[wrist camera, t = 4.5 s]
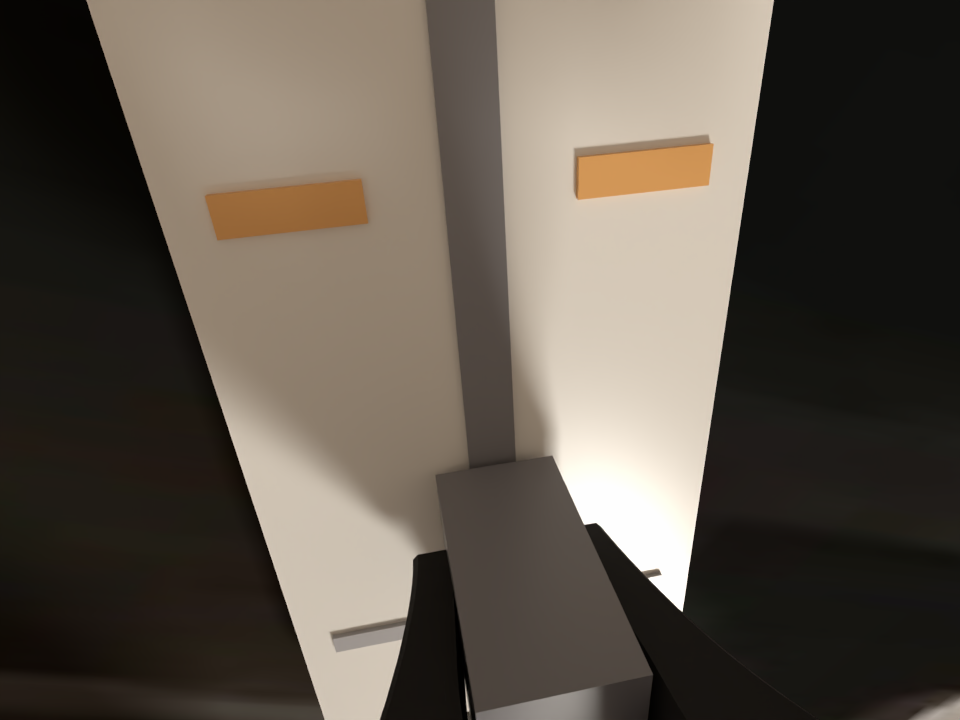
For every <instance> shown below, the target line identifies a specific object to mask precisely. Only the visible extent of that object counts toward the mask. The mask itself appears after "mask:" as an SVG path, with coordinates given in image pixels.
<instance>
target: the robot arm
mask: <svg viewBox="0 0 960 720" xmlns="http://www.w3.org/2000/svg"><path fill="white" fill-rule="evenodd" d="M585 528H586V530H587V532H588V534H589V536H590V538H591V541H592V543H593V545H594V547H595V549H596V552H597V554H598V556H599V558H600V560H601V562H602V565H603V567H604V569H605V571H606V573H607V575H608V578H609V580H610V582H611V584H612V586H613V589H614V591H615V593H616V595H617V597H618V599H619V602H620V604H621V606H622V608H623V610H624V612H625V615H626V617H627V619H628V621H629V623H630V626H631V628H632V630H633V632H634V634H635V636H636V639H637V641H638V643H639V645H640V647H641V649H642V652H643V654H644V656H645V658H646V660H647V662H648V665H649V667H650V669H651V671H652V673H653V680H652V688H651V696H650V704H649V712H648V720H819V719H817V718H816V717H814V716H813V715H812V714H810V713H809V712H807V711H806V710H804V709H803V708H801V707H800V706H798V705H797V704H795V703H794V702H792V701H791V700H789V699H788V698H786V697H785V696H784V695H782V694H781V693H780V692H778V691H777V690H776V689H774V688H773V687H772V686H770V685H769V684H768V683H766V682H765V681H764V680H762V679H761V678H760V677H758V676H757V675H756V674H754V673H753V672H752V671H751V670H749V669H748V668H747V667H745V666H744V665H743V664H742V663H740V662H739V661H738V660H737V659H735V658H734V657H733V656H732V655H730V654H729V653H728V652H727V651H726V650H724V649H723V648H722V647H721V646H720V645H719V644H717V643H716V642H715V641H714V640H713V639H711V638H710V637H709V636H708V635H707V634H706V633H705V632H704V631H702V630H701V629H700V628H699V627H698V626H697V625H696V624H695V623H694V622H692V621H691V620H690V619H689V618H688V617H687V616H686V615H685V614H684V613H683V612H682V611H681V610H679V609H678V608H677V607H676V606H675V605H674V604H673V603H672V602H671V601H670V600H669V599H668V598H667V597H666V596H665V595H664V594H663V593H662V592H661V591H660V590H659V589H658V588H657V587H656V586H655V585H654V584H653V583H652V582H651V581H650V580H649V579H648V578H647V577H646V576H645V575H644V574H643V573H642V572H641V571H640V570H639V568H638V567H637V566H636V565H635V564H634V563H633V562H632V561H631V560H630V559H629V558H628V557H627V556H626V554H625V553H624V552H623V551H622V550H621V549H620V548H619V547H618V546H617V544H616V543H615V542H614V541H613V540H612V539H611V538H610V536H609V535H608V534H607V533H606V532H605V531H604V529H603V528H602V527H601V526H600V525H598V524H597V523H591V524H586V525H585ZM380 720H468V719H467V705H466V691H465V677H464V669H463V661H462V653H461V645H460V637H459V629H458V622H457V614H456V606H455V598H454V590H453V584H452V578H451V573H450V567H449V561H448V556H447V550H441V551H435V552H430V553H424V554H418V555H417V556H416V557H415V558H414V559H413V577H412V588H411V596H410V602H409V608H408V614H407V620H406V624H405V629H404V633H403V638H402V643H401V647H400V652H399V656H398V660H397V663H396V667H395V670H394V674H393V677H392V681H391V685H390V688H389V692H388V695H387V699H386V702H385V705H384V708H383V711H382V715H381V718H380Z"/></svg>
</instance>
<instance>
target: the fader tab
mask: <svg viewBox="0 0 960 720" xmlns="http://www.w3.org/2000/svg"><path fill="white" fill-rule="evenodd" d="M435 477H436V485H437V493H438V500H439V508H440V516H441V523H442V531H443V538H444V546H445V550H447V556H448V561H449V567H450V573H451V578H452V584H453V590H454V598H455V606H456V614H457V622H458V629H459V637H460V645H461V653H462V661H463V669H464V677H465V688H466V694H467V700H468V707H469V713H470V719H471V720H648V712H649V704H650V696H651V688H652V680H653V673H652V671H651V669H650V667H649V665H648V662H647V660H646V658H645V656H644V654H643V652H642V649H641V647H640V645H639V643H638V641H637V639H636V636H635V634H634V632H633V630H632V628H631V626H630V623H629V621H628V619H627V617H626V615H625V612H624V610H623V608H622V606H621V604H620V602H619V599H618V597H617V595H616V593H615V591H614V589H613V586H612V584H611V582H610V580H609V578H608V575H607V573H606V571H605V569H604V567H603V565H602V562H601V560H600V558H599V556H598V554H597V552H596V549H595V547H594V545H593V543H592V541H591V538H590V536H589V534H588V532H587V530H586V528H585V525H584V523H583V521H582V519H581V517H580V515H579V512H578V510H577V508H576V506H575V504H574V502H573V499H572V497H571V495H570V493H569V491H568V488H567V486H566V484H565V482H564V480H563V478H562V475H561V473H560V471H559V469H558V467H557V465H556V462H555V460H554V458H553V456H546V457H540V458H534V459H528V460H522V461H516V462H510V463H504V464H498V465H492V466H485V467H479V468H473V469H467V470H461V471H455V472H449V473H443V474H437V475H435Z"/></svg>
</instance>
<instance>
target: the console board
mask: <svg viewBox="0 0 960 720" xmlns="http://www.w3.org/2000/svg"><path fill="white" fill-rule="evenodd" d="M86 1H87V4H88V7H89V10H90V13H91V16H92V19H93V22H94V25H95V28H96V31H97V34H98V37H99V40H100V43H101V46H102V49H103V52H104V55H105V58H106V61H107V64H108V67H109V70H110V73H111V76H112V79H113V82H114V85H115V88H116V91H117V94H118V97H119V100H120V103H121V106H122V109H123V112H124V115H125V118H126V121H127V124H128V127H129V130H130V133H131V136H132V139H133V142H134V145H135V148H136V152H137V155H138V158H139V161H140V164H141V167H142V170H143V173H144V176H145V179H146V182H147V185H148V188H149V191H150V194H151V197H152V200H153V203H154V206H155V209H156V212H157V215H158V218H159V221H160V224H161V227H162V230H163V233H164V236H165V239H166V242H167V245H168V248H169V251H170V254H171V257H172V260H173V263H174V266H175V269H176V272H177V275H178V278H179V281H180V284H181V287H182V290H183V293H184V296H185V299H186V302H187V305H188V308H189V311H190V314H191V317H192V320H193V323H194V326H195V329H196V332H197V335H198V338H199V341H200V344H201V348H202V351H203V354H204V357H205V360H206V363H207V366H208V369H209V372H210V375H211V378H212V381H213V384H214V387H215V390H216V393H217V396H218V399H219V402H220V405H221V408H222V411H223V414H224V417H225V420H226V423H227V426H228V429H229V432H230V435H231V438H232V441H233V444H234V447H235V450H236V453H237V456H238V459H239V462H240V465H241V468H242V471H243V474H244V477H245V480H246V483H247V486H248V489H249V492H250V495H251V498H252V501H253V504H254V507H255V510H256V513H257V516H258V519H259V522H260V525H261V528H262V531H263V534H264V537H265V540H266V544H267V547H268V550H269V553H270V556H271V559H272V562H273V565H274V568H275V571H276V574H277V577H278V580H279V583H280V586H281V589H282V592H283V595H284V598H285V601H286V604H287V607H288V610H289V613H290V616H291V619H292V622H293V625H294V628H295V631H296V634H297V637H298V640H299V643H300V646H301V649H302V652H303V655H304V658H305V661H306V664H307V667H308V670H309V673H310V676H311V679H312V682H313V685H314V688H315V691H316V694H317V697H318V700H319V703H320V706H321V709H322V712H323V715H324V718H325V720H380V718H381V715H382V711H383V708H384V705H385V702H386V699H387V695H388V692H389V688H390V685H391V681H392V677H393V674H394V670H395V667H396V663H397V660H398V656H399V652H400V647H401V643H402V638H403V633H404V629H405V624H406V620H407V614H408V608H409V602H410V596H411V588H412V577H413V559H414V558H415V557H416V556H417V555H418V554H424V553H430V552H435V551H441V550H445V546H444V538H443V531H442V523H441V516H440V508H439V500H438V493H437V485H436V477H435V475H437V474H443V473H449V472H455V471H461V470H467V469H473V468H479V467H485V466H492V465H498V464H504V463H510V462H516V461H522V460H528V459H534V458H540V457H546V456H553V458H554V460H555V462H556V465H557V467H558V469H559V471H560V473H561V475H562V478H563V480H564V482H565V484H566V486H567V488H568V491H569V493H570V495H571V497H572V499H573V502H574V504H575V506H576V508H577V510H578V512H579V515H580V517H581V519H582V521H583V523H584V525H586V524H591V523H597V524H598V525H600V526H601V527H602V528H603V529H604V531H605V532H606V533H607V534H608V535H609V536H610V538H611V539H612V540H613V541H614V542H615V543H616V544H617V546H618V547H619V548H620V549H621V550H622V551H623V552H624V553H625V554H626V556H627V557H628V558H629V559H630V560H631V561H632V562H633V563H634V564H635V565H636V566H637V567H638V568H639V570H640V571H641V572H642V573H643V574H644V575H645V576H646V577H647V578H648V579H649V580H650V581H651V582H652V583H653V584H654V585H655V586H656V587H657V588H658V589H659V590H660V591H661V592H662V593H663V594H664V595H665V596H666V597H667V598H668V599H669V600H670V601H671V602H672V603H673V604H674V605H675V606H676V607H677V608H678V609H679V610H681V611H682V610H683V604H684V597H685V590H686V584H687V577H688V570H689V564H690V557H691V550H692V544H693V537H694V530H695V523H696V517H697V510H698V503H699V497H700V490H701V483H702V477H703V470H704V463H705V457H706V450H707V443H708V437H709V430H710V423H711V416H712V410H713V403H714V396H715V390H716V383H717V376H718V370H719V363H720V356H721V350H722V343H723V336H724V329H725V323H726V316H727V309H728V303H729V296H730V289H731V283H732V276H733V269H734V263H735V256H736V249H737V243H738V236H739V229H740V222H741V216H742V209H743V202H744V196H745V189H746V182H747V176H748V169H749V162H750V156H751V149H752V142H753V135H754V129H755V122H756V115H757V109H758V102H759V95H760V89H761V82H762V75H763V69H764V62H765V55H766V49H767V42H768V35H769V28H770V22H771V15H772V8H773V2H774V0H86ZM465 691H466V688H465ZM466 705H467V711H469V707H468V700H467V694H466Z"/></svg>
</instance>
